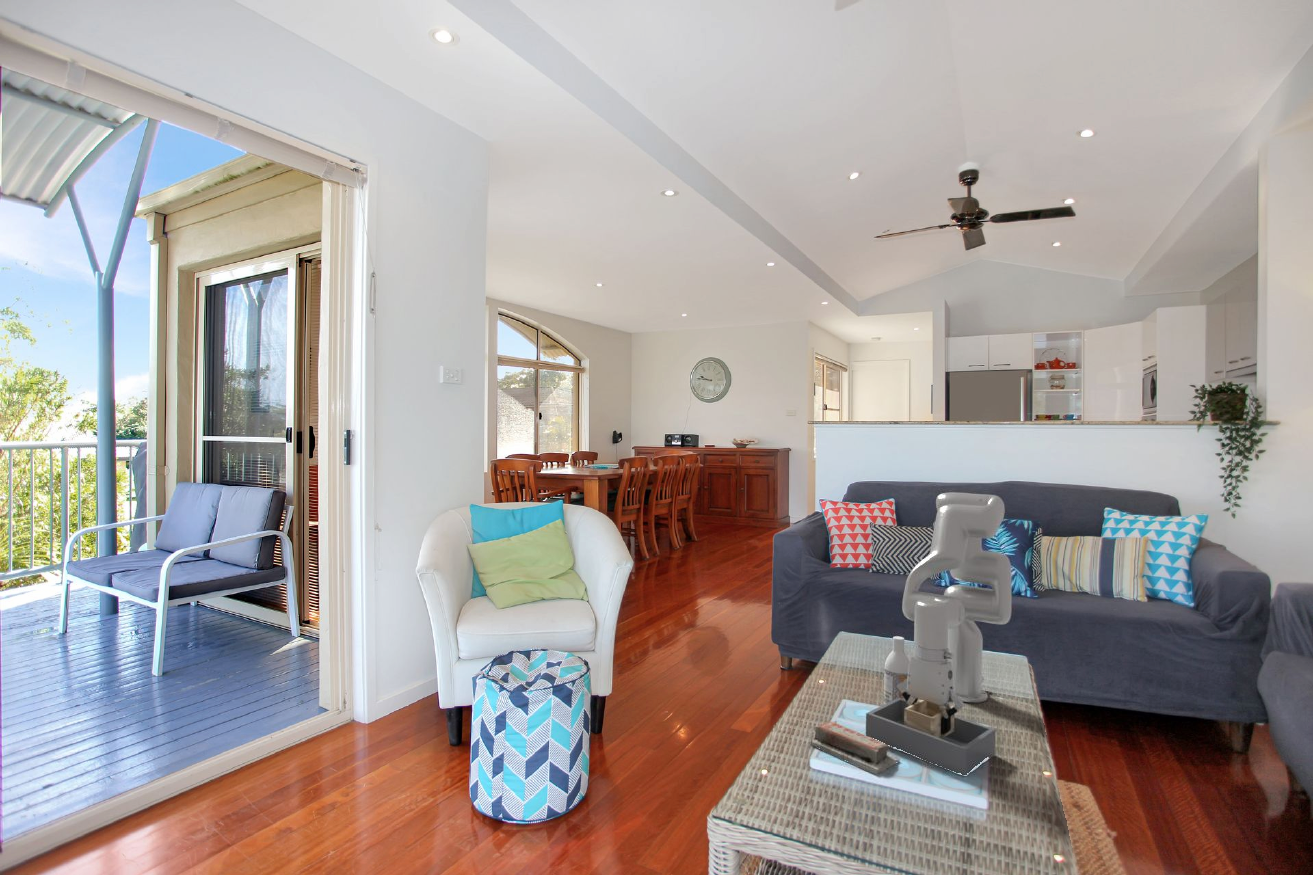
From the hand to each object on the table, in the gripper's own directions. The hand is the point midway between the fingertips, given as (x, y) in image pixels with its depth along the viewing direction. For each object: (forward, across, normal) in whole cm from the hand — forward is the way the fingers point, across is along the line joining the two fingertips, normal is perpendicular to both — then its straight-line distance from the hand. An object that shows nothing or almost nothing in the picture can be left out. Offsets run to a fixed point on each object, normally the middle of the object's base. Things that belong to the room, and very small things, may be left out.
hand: (929, 726), depth 155 cm
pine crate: (+1, 0, 0) cm, 1 cm away
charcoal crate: (+5, 0, 0) cm, 5 cm away
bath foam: (+5, +15, -13) cm, 20 cm away
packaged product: (+5, +10, +17) cm, 21 cm away
